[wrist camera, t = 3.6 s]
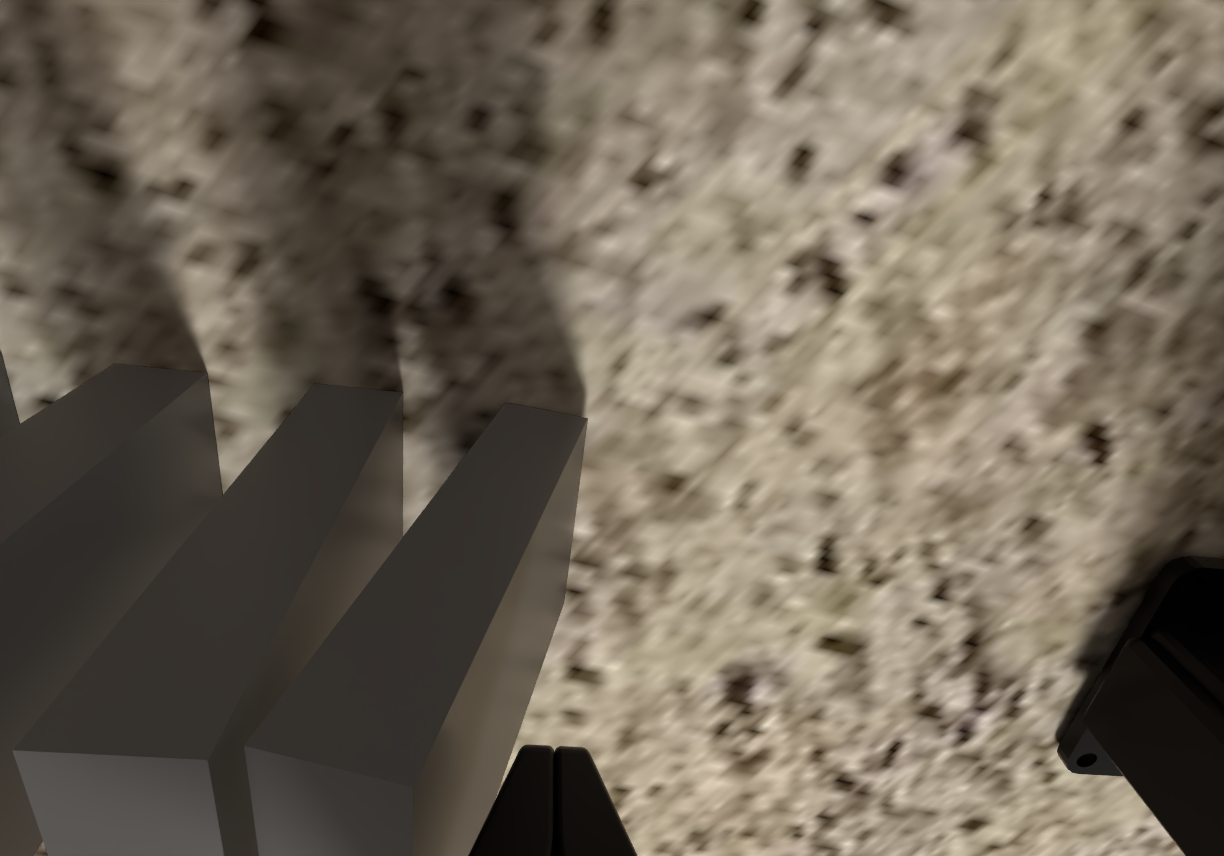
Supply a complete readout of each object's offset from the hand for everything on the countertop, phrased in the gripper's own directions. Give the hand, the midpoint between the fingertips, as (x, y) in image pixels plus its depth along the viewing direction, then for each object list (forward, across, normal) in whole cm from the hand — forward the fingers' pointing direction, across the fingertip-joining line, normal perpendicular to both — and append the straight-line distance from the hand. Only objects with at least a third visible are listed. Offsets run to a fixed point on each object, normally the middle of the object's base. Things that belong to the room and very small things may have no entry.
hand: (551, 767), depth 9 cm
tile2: (+6, +4, 0) cm, 7 cm away
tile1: (+6, 0, 0) cm, 6 cm away
